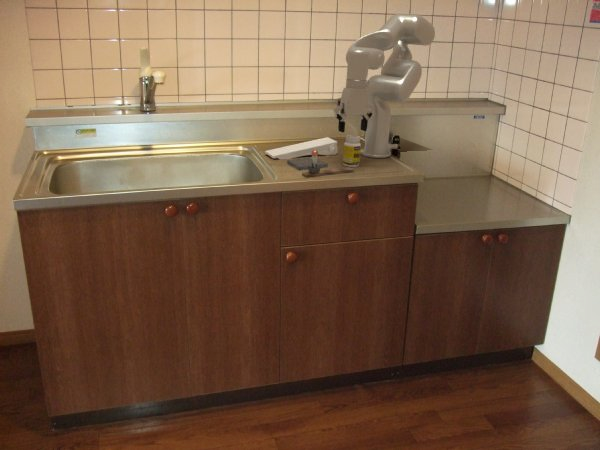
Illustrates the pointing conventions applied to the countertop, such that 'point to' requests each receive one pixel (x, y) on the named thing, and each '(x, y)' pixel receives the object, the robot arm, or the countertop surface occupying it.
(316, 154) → the press lever
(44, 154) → the countertop surface
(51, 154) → the countertop surface
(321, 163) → the press bed
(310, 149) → the wall bracket
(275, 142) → the countertop surface
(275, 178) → the countertop surface
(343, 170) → the lever rail
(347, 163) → the supplement bottle
